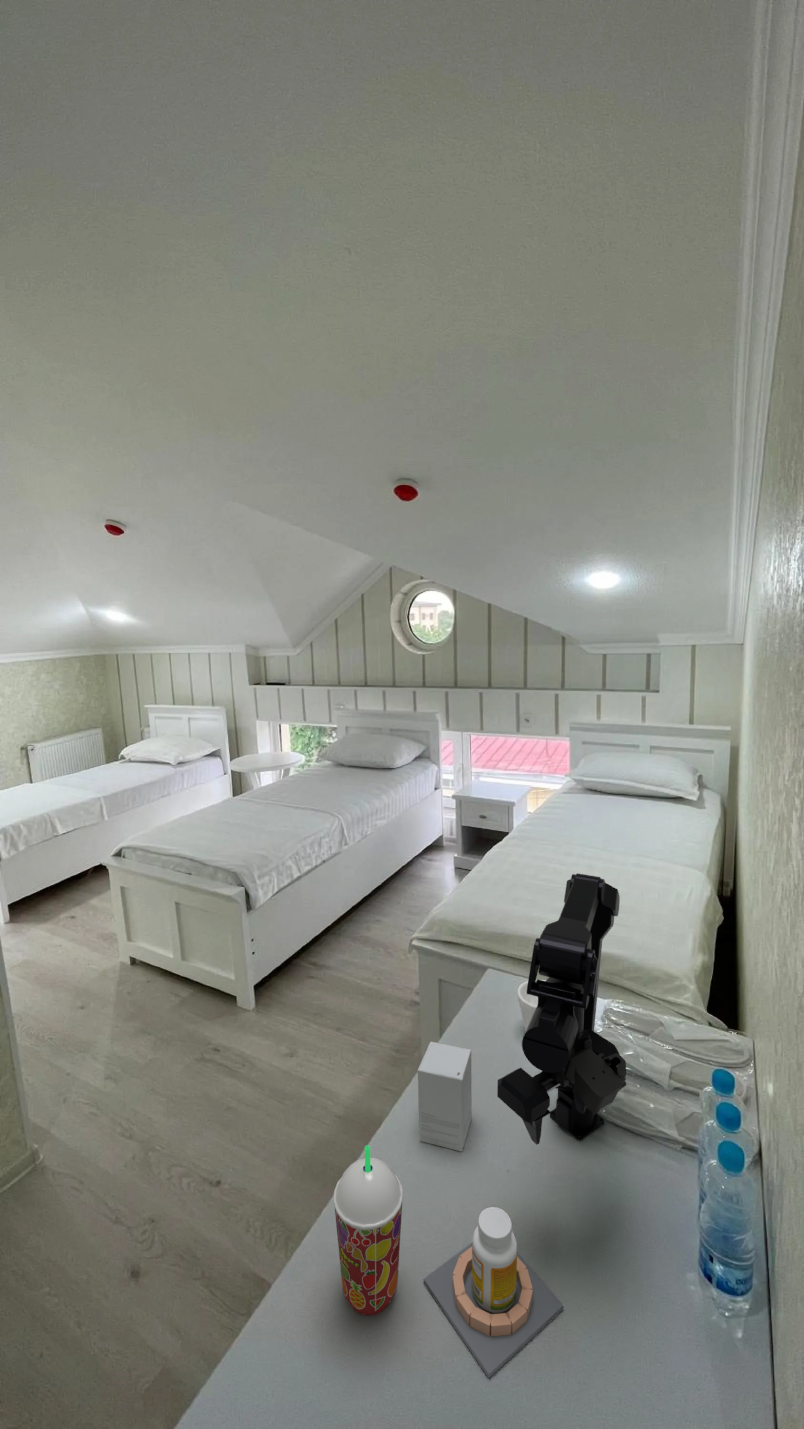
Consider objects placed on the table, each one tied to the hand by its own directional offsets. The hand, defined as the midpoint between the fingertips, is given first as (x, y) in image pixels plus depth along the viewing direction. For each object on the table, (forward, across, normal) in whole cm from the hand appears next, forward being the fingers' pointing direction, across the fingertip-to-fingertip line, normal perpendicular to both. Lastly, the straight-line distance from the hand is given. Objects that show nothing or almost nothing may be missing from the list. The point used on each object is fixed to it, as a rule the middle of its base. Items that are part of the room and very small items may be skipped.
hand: (558, 1126), depth 85 cm
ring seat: (+12, -16, -4) cm, 20 cm away
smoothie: (+12, -28, +5) cm, 31 cm away
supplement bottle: (+12, -16, -4) cm, 20 cm away
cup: (+12, +25, +26) cm, 38 cm away
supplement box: (+12, -5, +19) cm, 23 cm away
